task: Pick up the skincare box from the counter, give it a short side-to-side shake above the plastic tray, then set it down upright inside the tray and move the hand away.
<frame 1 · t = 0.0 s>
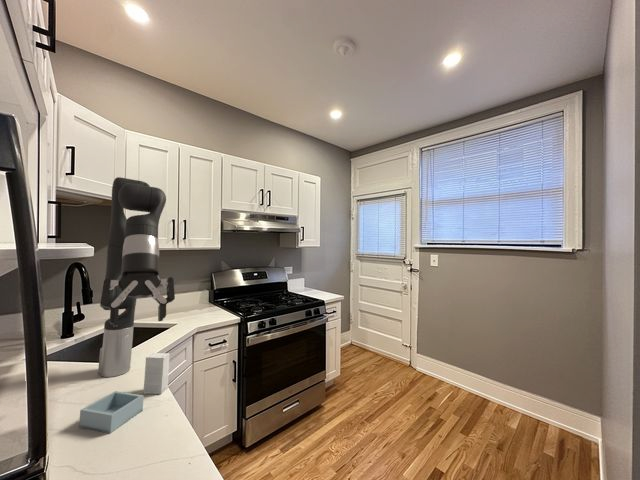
hand: (139, 323, 60), 31 cm above the worktop, tool tilted 20°, fingers open, 8 cm apart
tray: (112, 418, 74), on the worktop
skincare box: (155, 391, 89), on the worktop
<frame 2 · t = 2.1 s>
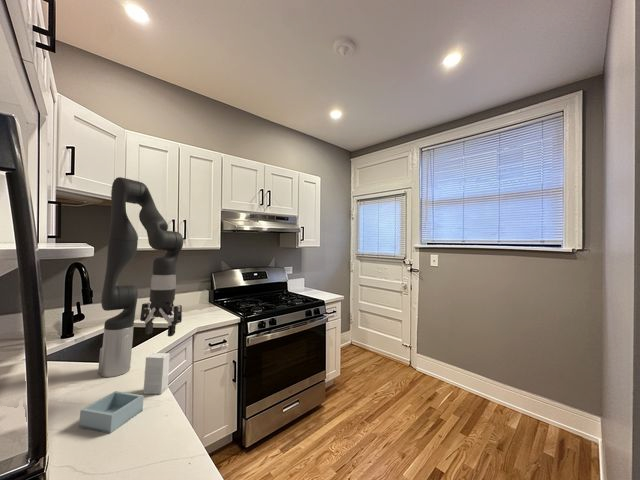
hand: (159, 334, 90), 19 cm above the worktop, tool pointing down, fingers open, 8 cm apart
nothing on the worktop moved.
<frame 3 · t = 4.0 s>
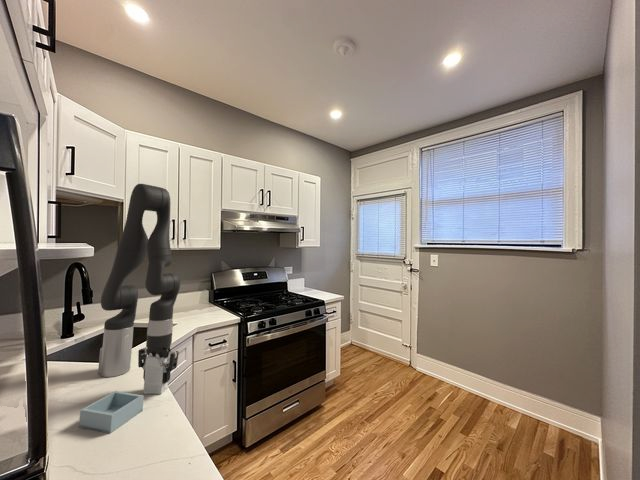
hand: (156, 381, 89), 3 cm above the worktop, tool pointing down, fingers closed on skincare box, 6 cm apart
skincare box: (155, 391, 89), on the worktop, touching gripper
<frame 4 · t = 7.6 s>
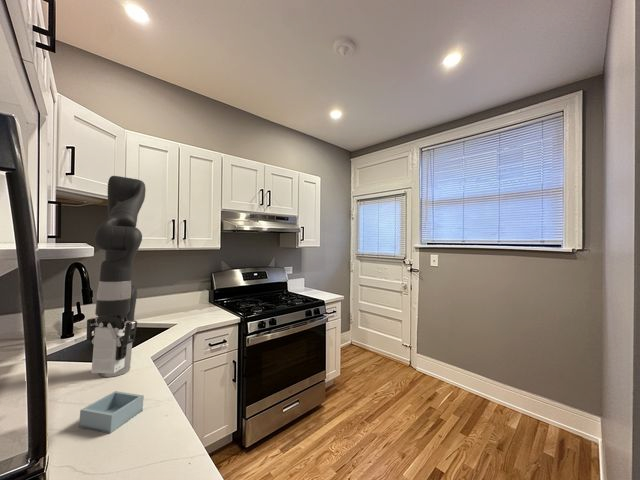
hand: (109, 357, 72), 18 cm above the worktop, tool pointing down, fingers closed on skincare box, 6 cm apart
skincare box: (107, 370, 72), point 14 cm above the worktop, touching gripper
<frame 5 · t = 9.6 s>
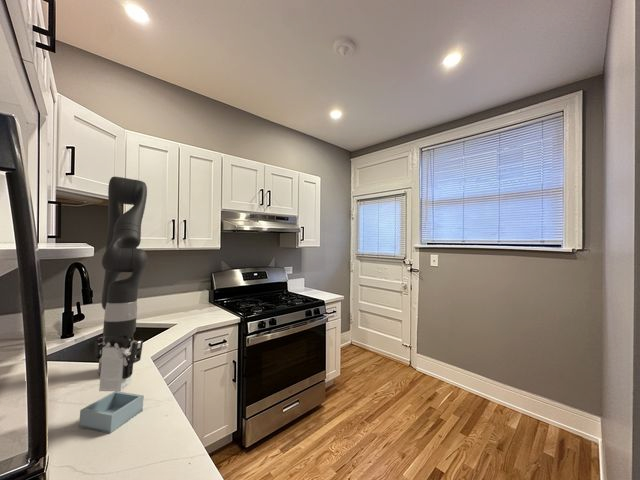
hand: (115, 376, 75), 12 cm above the worktop, tool pointing down, fingers closed on skincare box, 6 cm apart
skincare box: (114, 388, 74), point 8 cm above the worktop, touching gripper
when the fingers open (5 cm above the worktop, at t = 11.3 s): skincare box drops 1 cm, resting on tray.
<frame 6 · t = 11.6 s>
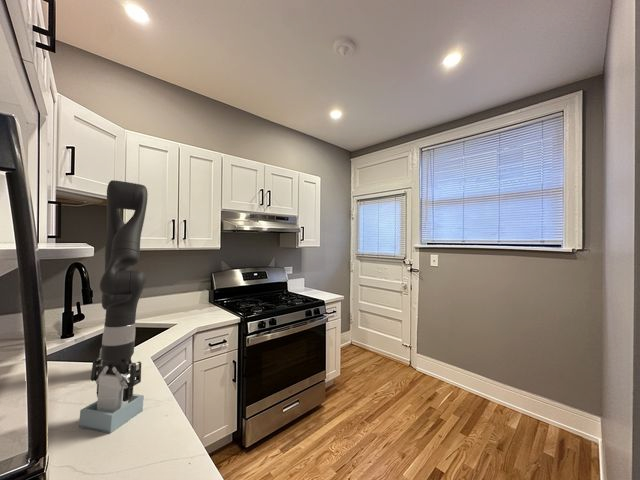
hand: (114, 398, 74), 6 cm above the worktop, tool pointing down, fingers open, 8 cm apart
skincare box: (111, 416, 74), resting on tray
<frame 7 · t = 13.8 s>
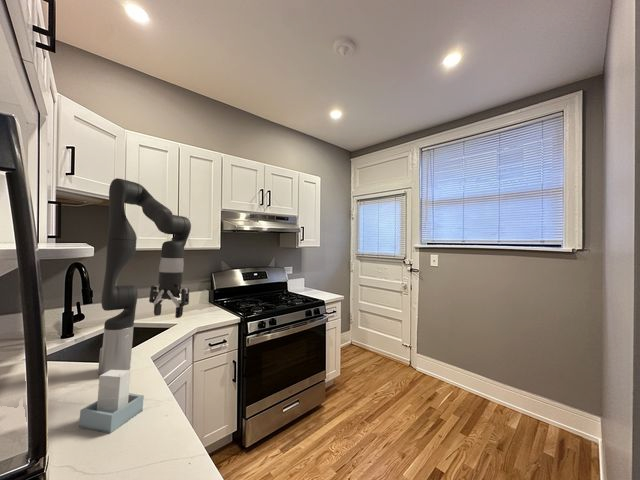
hand: (167, 316, 93), 25 cm above the worktop, tool pointing down, fingers open, 8 cm apart
nothing on the worktop moved.
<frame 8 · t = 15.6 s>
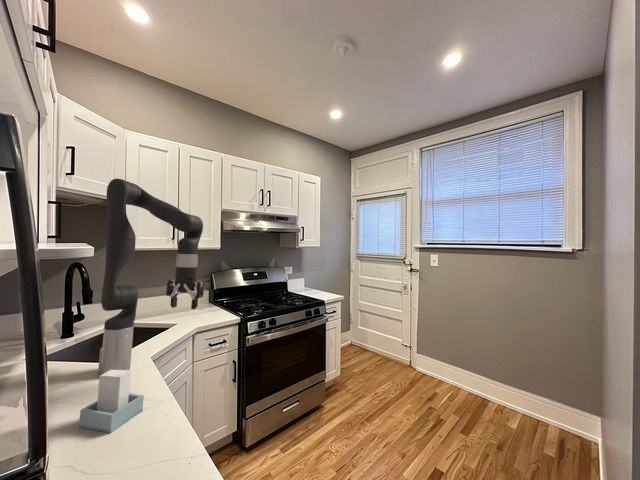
hand: (183, 308, 100), 26 cm above the worktop, tool pointing down, fingers open, 8 cm apart
nothing on the worktop moved.
at the end: skincare box 0.4 cm off-centre on the tray, point 0.4 cm above the tray's base; skincare box tilted 0°; the gripper is holding nothing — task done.
